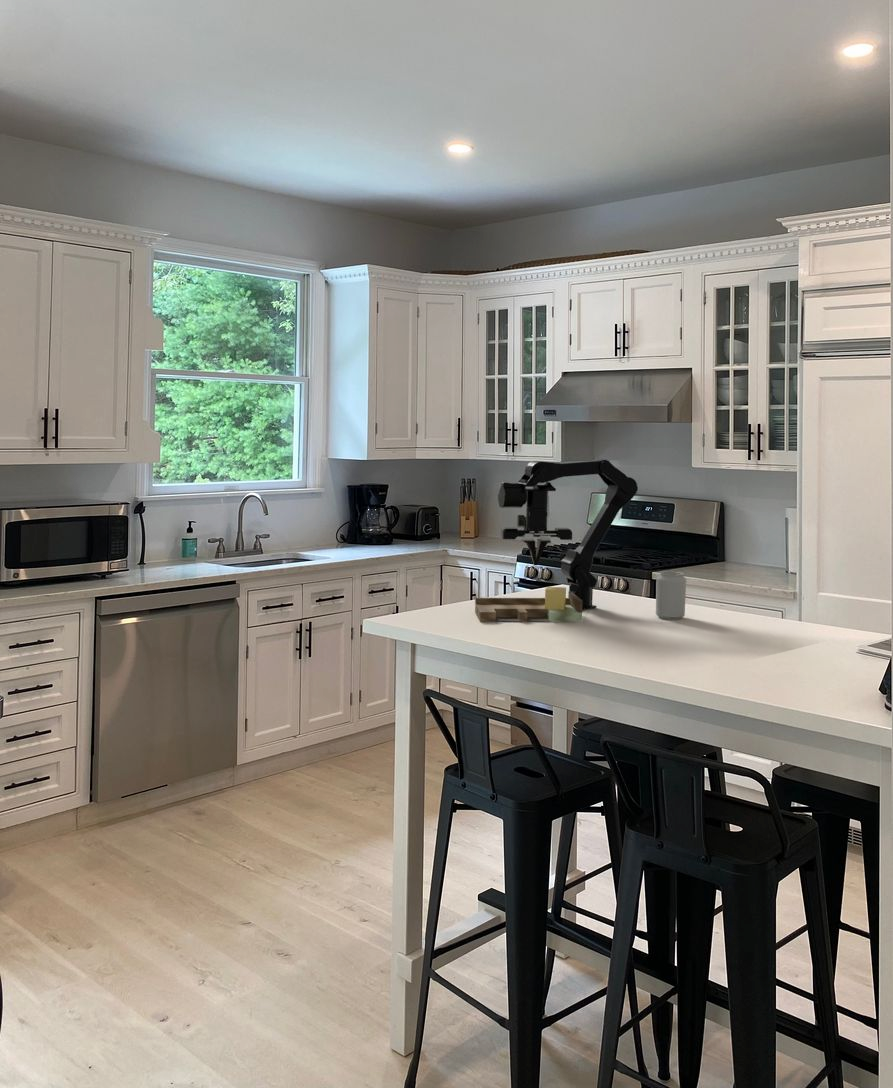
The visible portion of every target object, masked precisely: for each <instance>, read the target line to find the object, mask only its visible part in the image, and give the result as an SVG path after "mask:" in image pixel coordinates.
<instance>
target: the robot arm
mask: <svg viewBox="0 0 893 1088" xmlns="http://www.w3.org/2000/svg"><path fill="white" fill-rule="evenodd" d="M589 475H590V476H591V475H598V476H599V479H601V480H602V482H603V483H604V484H605V485H606V486H607V489H606V492H605V498H604V502H603V505H602V506H601V507H600V509H599V511H598V513H597V515H596V516H595V518H594V520H593V521H592V523H591V525H590V527H589V528H588V530H587V531H586V533H585V535H584V537H583V539H582V540H581V542H580V543H579V545H578V546H577V547H576V548H575V549H572V548H568V550H567V551H566V553H565V556H564V557H563V558H562V559H561V560H560V562H561V564H560V565H561V566H560V570H561V574H562V576H564V577H565V579H566V582H567V583H568V584H570V585H569V586H568V587H569V589H568V591H567V592H568V595H567V596H568V597H567V598H569V593H574V594H575V595H576V596H577V597H579V598H580V599H581V600H582V601H583V603H582V611H583V610H589V609H594V608H595V609H596V608H597V605H593V593H594V592H593V591H594V588H596V585H597V582H598V580H597V578H596V577H595V576H594V575H593V574H592V573H591V569H592V566H593V561H594V556H595V553H596V552H597V549H598V547H599V546H600V544H601V542H602V541H603V539H604V538H605V536H606V534H607V532H608V531H609V529H610V527H611V525H612V524H613V522H614V521H615V519H616V517H617V515H619V514H618V513H619V512H620V510H622V509H623V508H624V507H625V506H626V505H628V504H629V503H630V502H631V500H632V499H633V498H634V496H635V495H636V494H637V493H638V490H639V487H638V483H637V481H636V480H635V479H634V478H632V477H630V476H629V477H628V476H627V475H626V473H624V472H623V471H621V470H620V469H618V467H616V466H615V465H614V464H612V463H611V462H610V461H609V460H608V459H601V458H599V459H596V460H595V459H594V460H584V461H571V462H570V461H569V462H549V461H542V460H541V461H540V460H532V461H529V462H528V463H527V464H526V466H525V468H524V473H523V474H522V475H521V477H520V479H519V480H518V481H517V482H506V481H502V482H501V483H500V485H501V486H500V488H499V491H498V494H497V501H498V502H497V503H498V507H500V508H501V509H502V508H503V509H504V508H505V509H510V508H511V509H519V508H523V507H524V505H525V506H526V507H525V508H526V509H525V510H526V511H525V514H526V515H524V514H518V515H517V518H516V526H512V527H511V526H503V527H502V528H500V538H501V539H502V540H516V539H517V538H518V537H521V542H523V543H525V544H526V546H527V548H528V550H529V553H530V556H531V559H532V563H533V566H538V564H539V561H540V559H541V557H542V555H543V552H544V550H545V548H546V546H547V545H548V544H551V543H552V541H551V538H558V539H559V540H561V541H571V540H573V531H572V530H571V529H570V528H568V527H554V529H553V530H548V511H549V508H548V507H549V492H555V491H557V488H555V486H554V485H553V484H552V483H551V482H552V481H556V480H558V479H560V478H564V477H576V476H577V477H578V476H589ZM528 487H529V488H528ZM530 487H531V488H530ZM518 528H523V529H518ZM534 538H537V539H536V540H534Z"/></svg>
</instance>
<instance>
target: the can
mask: <svg viewBox="0 0 893 1088" xmlns="http://www.w3.org/2000/svg"><path fill="white" fill-rule="evenodd" d="M684 575H685V573H683V572H680V571H660V572H659V576H658V577H657V578H656V596H655V615H656V616H657V618H658V619H661V620H668V621H669V620H670V621H677V620H681V619H682V618H683V617H685V615H686V596H687V595H686V592H687V578H685V576H684Z"/></svg>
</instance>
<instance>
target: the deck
mask: <svg viewBox="0 0 893 1088" xmlns="http://www.w3.org/2000/svg"><path fill="white" fill-rule="evenodd" d="M582 603H583V601H582V600H581V599H580V598H579V597H577V596H576V595H575V594H574V593H569V598H568V597H566V604H565V609H564V610H558V609H545V597H475V599H474V613H475V615H476V617H477V619H478V622H480V623H583V610H582Z"/></svg>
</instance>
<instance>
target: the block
mask: <svg viewBox="0 0 893 1088" xmlns="http://www.w3.org/2000/svg"><path fill="white" fill-rule="evenodd" d="M544 591H545V593H544V594H545V596H544V598H545V609H558V610H564V609H565V604H566V598H567V596H566V595H567V587H560V586H559V587H558V586H557V587H556V586H546V587H545V589H544Z"/></svg>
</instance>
